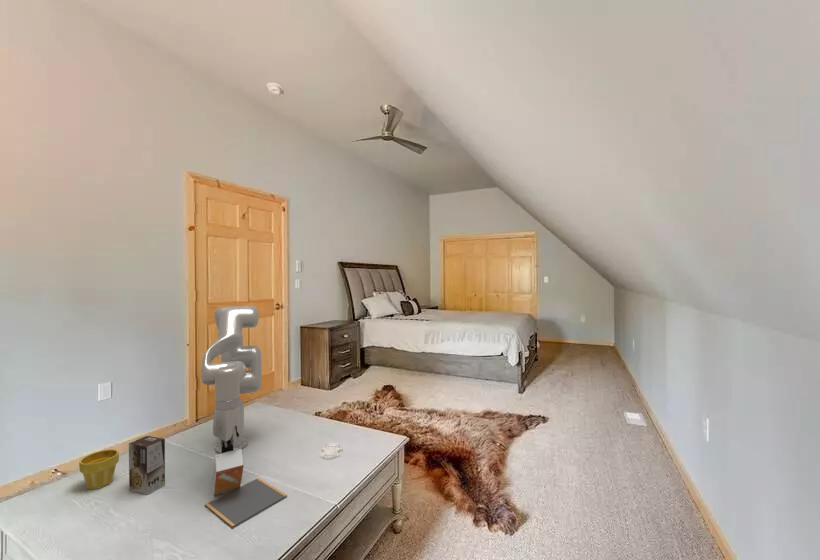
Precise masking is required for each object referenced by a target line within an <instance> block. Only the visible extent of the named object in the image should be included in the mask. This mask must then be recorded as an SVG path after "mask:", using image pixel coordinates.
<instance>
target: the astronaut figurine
mask: <svg viewBox="0 0 820 560" xmlns="http://www.w3.org/2000/svg"><path fill="white" fill-rule="evenodd" d="M341 452H343V447H340V443H339V442H337V443H336V442H327V443H326V444H325V447H322V448H321V453H320V454H319V458H321V459H322V460H326V461H331V460H332V461H333V460H335V459H338V458H339V457H340V453H341Z"/></svg>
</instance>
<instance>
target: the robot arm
mask: <svg viewBox="0 0 820 560" xmlns="http://www.w3.org/2000/svg"><path fill="white" fill-rule="evenodd" d="M213 314H214V321H215V324H216V328H217V330H218V332H217V333H218V334H217V340H216V341H214V342H213V343H212V344H211V345H210V346H209V347H208V348H207V349H206V351H204V354H203V357H202V360H201V361H202V362H201V370H200V379H201V382H202V383H203V385H207V386H213V385H214V413H213V420H212V421H213V426H212V435H213V436H214V437H216V438H218V442H217V443H216V444H215V446H214V451H215V452H216V453H218V454H221V453H225V452H229V451H234V450H238V449H242V450H243V449H244V448H245V447H247V445H248V443H249V440H248V438H246V437H245V420H244V419H245V406H244V405H245V403H244V402H243V400H242V398H241V395H244V394H251V393H257V392H259V391H260V390H261V388H262V385H263V384H262V382H263V377H262V376H263V373H262V371H263V370H262V368H263V367H262V351H261V349H260V347H259V346H258V345H244V344H243V343H244V335H243V329H245V328H246V329H248V328H256V327H257V326H258V324H259V322H260V321H259V320H260V319H259V318H260V317H259V316H260V315H259V311H258V307H257V306H255V305H233V306H229V305H228V306H221V307H218V308H216V309H215V311H214V313H213ZM218 356H220V362H213V360H215V358H217V357H218ZM247 369H249V370H247Z"/></svg>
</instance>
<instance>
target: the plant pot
mask: <svg viewBox="0 0 820 560" xmlns="http://www.w3.org/2000/svg"><path fill="white" fill-rule="evenodd" d="M119 460H120V452H119V450H118V449H114V448H113V449H112V448H111V449H103V450H98V451H94V452H92V453H90V454H88V455H87V454H86V455H85V456H84V457H82V458H81V459H80V460H79V464H78V465H79V472H80V473H81V474H82V476H83V478H84V481H85V484H86V488H87V489H88V490H96V489H100V488H103V487H105V486H108V485H110V484H111V483H112V482H113V479H114V475H115V471H116V468H117V467H116V466H117V464H118V463H119Z"/></svg>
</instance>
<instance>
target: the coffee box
mask: <svg viewBox="0 0 820 560" xmlns="http://www.w3.org/2000/svg"><path fill="white" fill-rule="evenodd" d="M165 440H166V439H165V438H162V437H156V436H153V435H152V436H151V435H145V436H143V437H140V438H138V439H136V440H134V441H131V442H129V443H128V475H129V477H128V482H129V483H128V484H129V486H128V489H129V490H128V491H132V492H136V493H139V494H142V495H143V494H144V495H147V496H149V494H152V493H154V492H155V491H157V490H159V489H160V488H163V487H165V485H166V458H165V457H166V456H165V455H166V446H165V444H166V441H165Z"/></svg>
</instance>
